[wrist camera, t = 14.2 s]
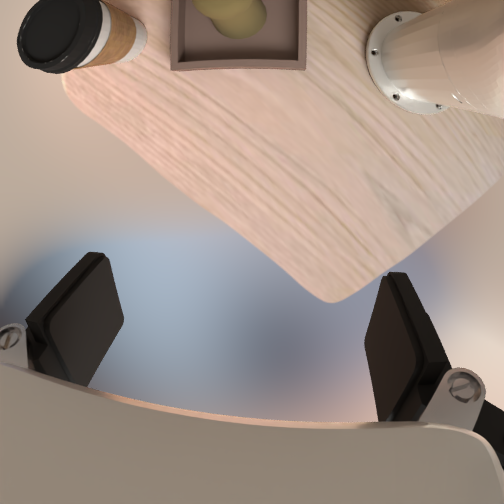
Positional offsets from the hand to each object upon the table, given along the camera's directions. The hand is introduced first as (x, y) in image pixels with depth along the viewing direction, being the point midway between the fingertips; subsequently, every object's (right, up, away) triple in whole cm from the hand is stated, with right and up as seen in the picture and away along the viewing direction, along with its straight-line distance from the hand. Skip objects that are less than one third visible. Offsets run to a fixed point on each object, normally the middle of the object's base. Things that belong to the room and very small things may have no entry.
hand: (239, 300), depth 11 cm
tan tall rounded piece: (-1, +27, +17) cm, 32 cm away
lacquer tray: (-1, +27, +18) cm, 32 cm away
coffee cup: (-15, +27, +20) cm, 36 cm away
